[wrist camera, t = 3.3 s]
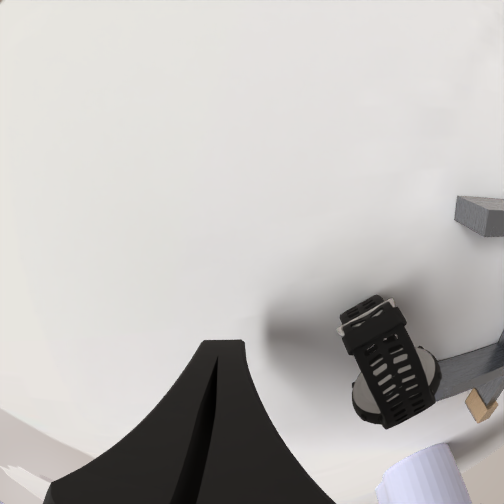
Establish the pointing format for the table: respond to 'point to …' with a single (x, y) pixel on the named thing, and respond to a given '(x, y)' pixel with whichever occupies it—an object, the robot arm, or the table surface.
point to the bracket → (491, 357)
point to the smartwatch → (387, 364)
